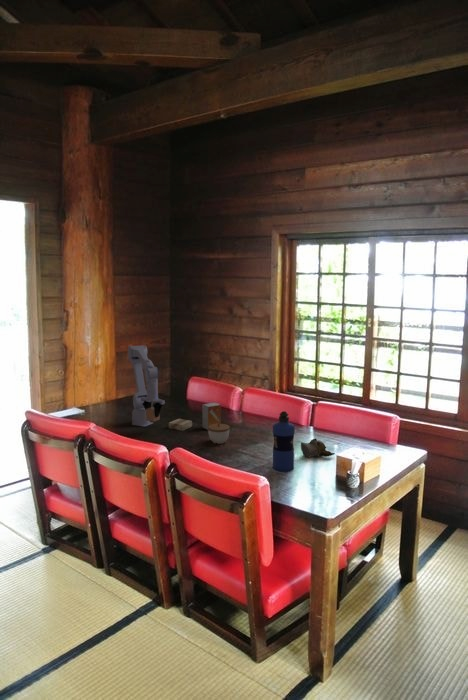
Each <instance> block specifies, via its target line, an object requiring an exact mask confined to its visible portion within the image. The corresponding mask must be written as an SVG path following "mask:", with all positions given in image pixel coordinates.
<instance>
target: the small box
mask: <svg viewBox="0 0 468 700" xmlns="http://www.w3.org/2000/svg"><path fill="white" fill-rule="evenodd" d="M201 406H202V407H201V408H202V428H203V429H205V430H207V431H208V426H209V425H212V424H218V423H220V424H222V423H221V421H222V420H221V417H222V415H221V414H222V410H221V409H222V408H221V406H222V404H220V403H218V402H209V403H205V404H202V405H201Z"/></svg>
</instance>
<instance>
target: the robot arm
mask: <svg viewBox="0 0 468 700" xmlns="http://www.w3.org/2000/svg"><path fill="white" fill-rule="evenodd" d="M127 357H128V361H129V362H130V363H131V364H132V368H133V373H134V380H135V386H136V392H135V393H134V395H133V397H132V404H133V409H132V412H131V416H132V417H131V420H132V421H131V422H132V423H131V425H132V426H136V427H137V426H138V427H148V426H150V425H153V424H154V422H153V421H147V420H146V409H148V408H151V407H154V410H155V417H159V413H160V412H161V410H162V407H163V405H165V404H166V402H165V399H164V400H163V399H162V398H161V399H160V398H159V388H158V387H159V381H158V379H159V378H160V370H159V368H158V366H157V367H156V366H155V365H154V364H153V361H152V360H151V359H149V358H148V347H147V345H146V344H143V345H129V346H128V348H127ZM143 371H144V372H143Z"/></svg>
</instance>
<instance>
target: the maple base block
mask: <svg viewBox="0 0 468 700" xmlns="http://www.w3.org/2000/svg"><path fill="white" fill-rule="evenodd" d="M191 427H193V421H192V420H189V419H182V418H177V419H174V420H172V421H170V422H168V429H171V430H176V431H182V432H183V431H186V430H187V429H190V428H191Z"/></svg>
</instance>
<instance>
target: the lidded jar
mask: <svg viewBox="0 0 468 700" xmlns="http://www.w3.org/2000/svg"><path fill="white" fill-rule="evenodd" d="M207 432H208V437H209V439H210V440H211V442H212V443H213V444H216V443H217V445H218V444H224V443H225V442H226V441H227V440H228V439H229V435H230V425H228V424H226V423H221V424H220V423H218V424H212V425H209V426H208V430H207Z"/></svg>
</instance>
